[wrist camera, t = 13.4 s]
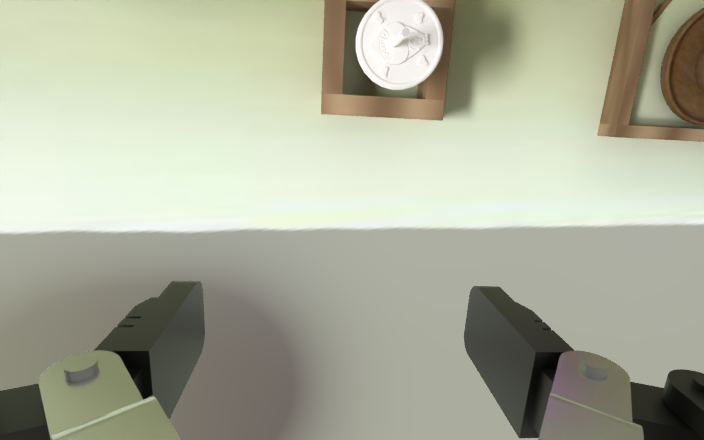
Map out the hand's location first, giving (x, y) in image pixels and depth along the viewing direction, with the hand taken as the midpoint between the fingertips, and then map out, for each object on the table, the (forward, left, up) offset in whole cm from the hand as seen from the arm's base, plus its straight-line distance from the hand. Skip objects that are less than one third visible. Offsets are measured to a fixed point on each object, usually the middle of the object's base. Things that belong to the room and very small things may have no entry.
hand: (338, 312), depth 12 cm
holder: (+5, +11, -30) cm, 32 cm away
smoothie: (+5, +11, -30) cm, 32 cm away
